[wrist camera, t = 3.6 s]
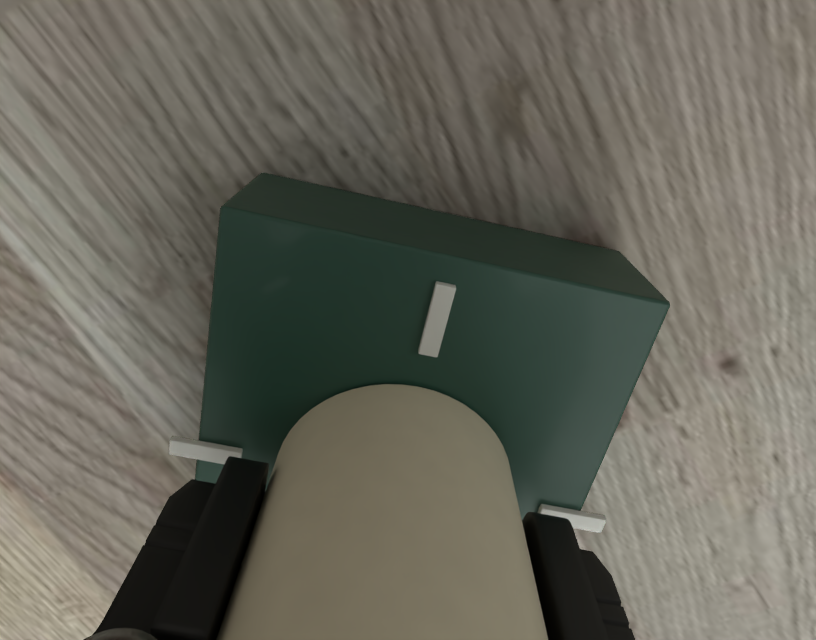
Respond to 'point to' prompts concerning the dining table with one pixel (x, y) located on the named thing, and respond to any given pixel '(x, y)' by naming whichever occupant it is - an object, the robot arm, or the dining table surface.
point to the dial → (387, 529)
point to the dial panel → (420, 330)
